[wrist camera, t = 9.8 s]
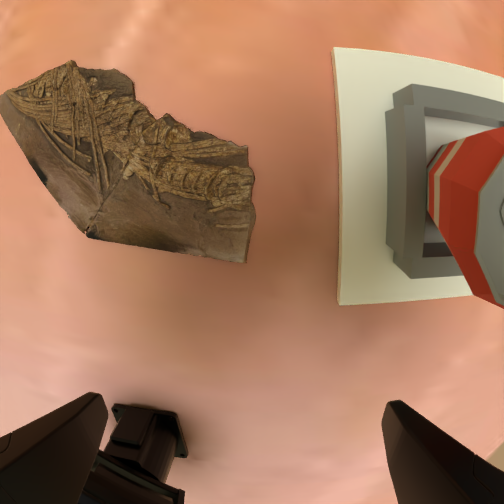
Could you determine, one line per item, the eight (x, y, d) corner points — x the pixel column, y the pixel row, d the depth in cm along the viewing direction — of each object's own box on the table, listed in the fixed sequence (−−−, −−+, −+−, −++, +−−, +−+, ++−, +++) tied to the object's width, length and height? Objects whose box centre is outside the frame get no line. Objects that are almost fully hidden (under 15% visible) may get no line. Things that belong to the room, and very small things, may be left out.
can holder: (513, 284, 19) (541, 303, 16) (336, 299, 21) (348, 328, 17) (520, 88, 15) (552, 82, 11) (331, 52, 16) (343, 28, 12)
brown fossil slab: (300, 184, 19) (302, 185, 18) (206, 315, 22) (203, 322, 21) (34, 31, 17) (27, 28, 16) (-16, 142, 20) (-24, 143, 19)
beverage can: (435, 125, 16) (486, 77, 5) (520, 166, 14) (633, 182, 3) (407, 216, 18) (420, 289, 8) (490, 253, 16) (566, 355, 6)
